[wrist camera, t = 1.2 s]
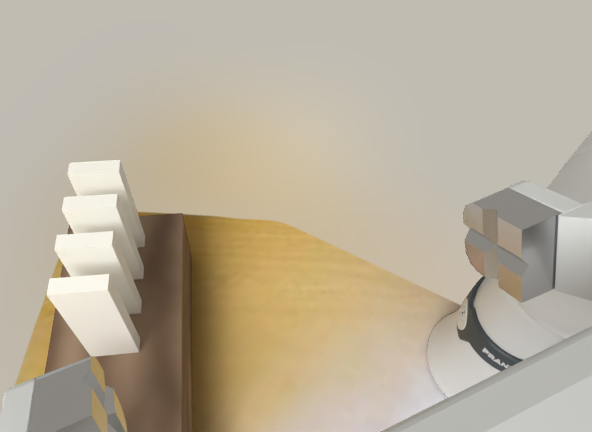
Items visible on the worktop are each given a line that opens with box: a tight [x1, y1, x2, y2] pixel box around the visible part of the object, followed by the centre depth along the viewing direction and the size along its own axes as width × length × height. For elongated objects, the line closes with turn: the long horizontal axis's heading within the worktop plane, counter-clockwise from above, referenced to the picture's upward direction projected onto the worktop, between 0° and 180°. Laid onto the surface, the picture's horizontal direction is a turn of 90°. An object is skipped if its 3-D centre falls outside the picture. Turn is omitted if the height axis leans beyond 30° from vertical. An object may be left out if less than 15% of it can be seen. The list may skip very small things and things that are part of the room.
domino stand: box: [45, 213, 192, 432], centre depth 60 cm, size 14×34×10 cm, turn 7°
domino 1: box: [68, 160, 145, 248], centre depth 58 cm, size 5×2×14 cm, turn 97°
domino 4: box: [47, 274, 140, 357], centre depth 50 cm, size 5×2×14 cm, turn 97°
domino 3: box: [55, 231, 142, 314], centre depth 52 cm, size 5×2×14 cm, turn 97°
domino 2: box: [62, 194, 144, 280], centre depth 55 cm, size 5×2×14 cm, turn 97°
